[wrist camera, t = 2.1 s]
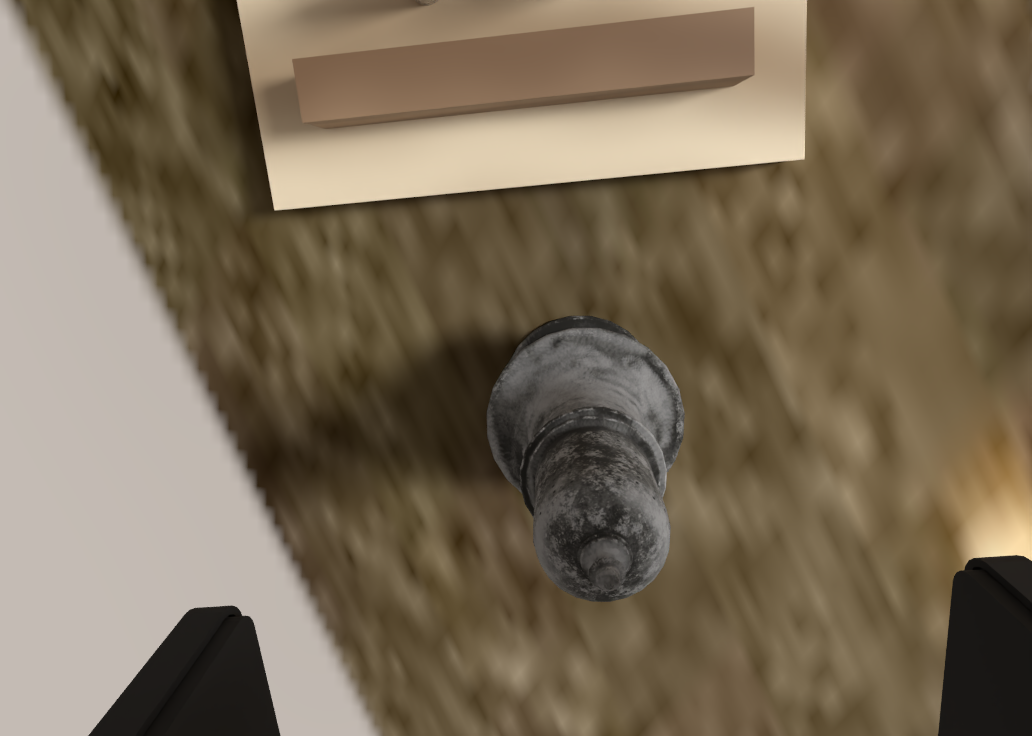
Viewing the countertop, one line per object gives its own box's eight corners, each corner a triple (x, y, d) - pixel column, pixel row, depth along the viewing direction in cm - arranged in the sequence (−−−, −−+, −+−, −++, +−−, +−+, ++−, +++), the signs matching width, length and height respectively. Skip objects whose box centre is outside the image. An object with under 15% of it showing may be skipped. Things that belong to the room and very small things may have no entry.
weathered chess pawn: (679, 318, 23) (814, 455, 11) (648, 478, 24) (740, 745, 13) (505, 296, 23) (461, 408, 11) (486, 457, 24) (430, 702, 13)
